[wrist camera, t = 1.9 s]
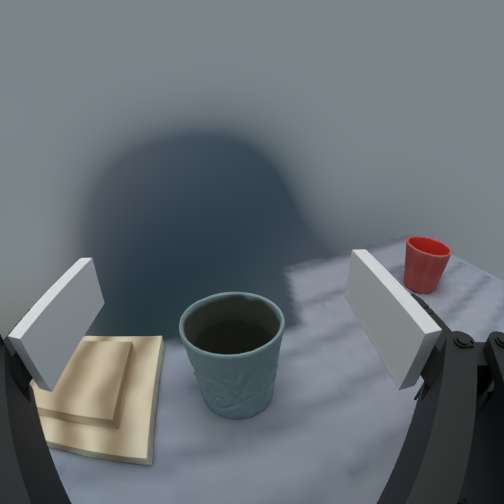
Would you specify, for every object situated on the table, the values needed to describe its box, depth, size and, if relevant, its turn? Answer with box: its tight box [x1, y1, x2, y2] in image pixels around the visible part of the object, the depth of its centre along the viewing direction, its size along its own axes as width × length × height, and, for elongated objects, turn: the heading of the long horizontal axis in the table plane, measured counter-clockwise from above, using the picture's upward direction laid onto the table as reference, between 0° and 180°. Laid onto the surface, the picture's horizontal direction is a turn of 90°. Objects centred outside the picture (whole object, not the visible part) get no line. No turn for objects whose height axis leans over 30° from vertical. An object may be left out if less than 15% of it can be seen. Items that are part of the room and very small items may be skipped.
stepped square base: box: [30, 336, 164, 465], centre depth 27 cm, size 20×20×4 cm
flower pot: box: [404, 236, 451, 294], centre depth 50 cm, size 11×11×10 cm
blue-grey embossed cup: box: [179, 292, 284, 419], centre depth 28 cm, size 10×10×12 cm
